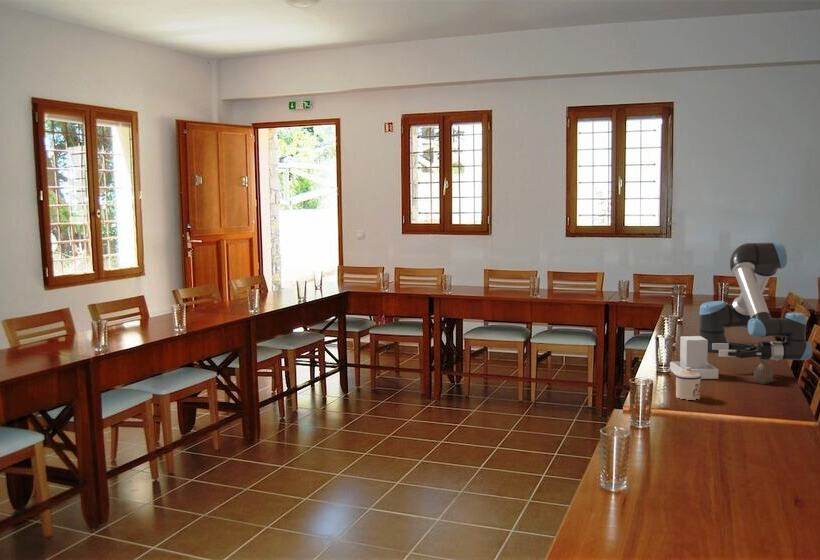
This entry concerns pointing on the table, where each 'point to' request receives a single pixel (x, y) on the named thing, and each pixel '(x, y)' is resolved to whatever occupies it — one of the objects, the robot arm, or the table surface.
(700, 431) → the table surface
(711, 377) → the white bin
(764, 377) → the vase
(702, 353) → the supplement box
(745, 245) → the robot arm
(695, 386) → the teacup with lid
